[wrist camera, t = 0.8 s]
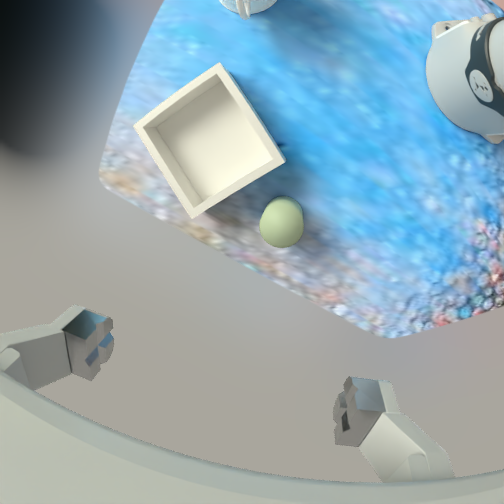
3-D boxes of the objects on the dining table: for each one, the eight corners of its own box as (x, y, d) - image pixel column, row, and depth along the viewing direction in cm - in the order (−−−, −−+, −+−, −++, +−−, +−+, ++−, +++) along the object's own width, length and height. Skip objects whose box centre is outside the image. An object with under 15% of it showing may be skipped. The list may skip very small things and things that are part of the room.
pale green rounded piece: (290, 189, 41) (289, 197, 35) (309, 221, 42) (311, 234, 36) (257, 208, 42) (251, 218, 37) (277, 239, 43) (273, 255, 38)
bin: (228, 70, 37) (219, 62, 32) (286, 159, 40) (284, 162, 35) (150, 126, 40) (133, 125, 36) (203, 210, 43) (191, 219, 39)
